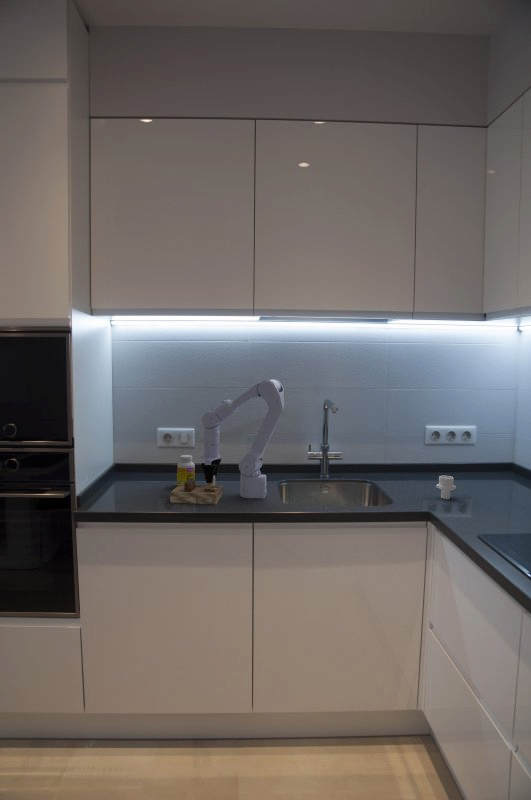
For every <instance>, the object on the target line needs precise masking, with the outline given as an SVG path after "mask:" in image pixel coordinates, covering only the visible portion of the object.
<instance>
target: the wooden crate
mask: <svg viewBox="0 0 531 800" xmlns="http://www.w3.org/2000/svg"><path fill="white" fill-rule="evenodd" d="M178 486H184V485H178ZM195 487H211V488H221V492H220V493H219V495H218V496H217V494H212V493H190V492H172V491H170V492H169V502H170V503H173V504H174V503H179V504H195V505H197V504H199V505H217V504H218V503H219V501H220V499H222V496H223V486H222V485H221V486H216V485H215V486H207V485H196V484H195Z"/></svg>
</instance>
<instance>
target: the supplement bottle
mask: <svg viewBox="0 0 531 800" xmlns="http://www.w3.org/2000/svg"><path fill="white" fill-rule="evenodd" d="M192 460H193V455H190V454H182V455H180V456H179V461H180V462H177V464H176V465H177V466H176V467H177V468H176V469H177V470H176V487H177V486H178V485H184V483H185V482H186V481H187V480H188V479H194V480H195V481H196V479H195V476H196V475H195V473H196V472H195V471H196V470H195V469H196V467H195V466H196V465H195V463H194V461H192Z"/></svg>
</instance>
